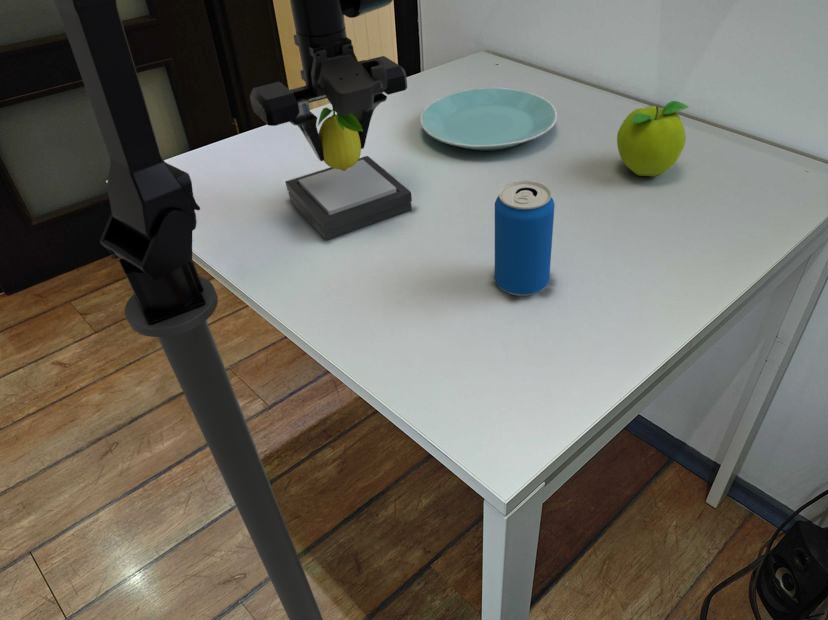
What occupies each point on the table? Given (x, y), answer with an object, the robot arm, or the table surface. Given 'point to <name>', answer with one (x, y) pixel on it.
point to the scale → (353, 216)
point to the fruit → (652, 139)
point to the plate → (488, 118)
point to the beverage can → (523, 237)
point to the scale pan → (346, 187)
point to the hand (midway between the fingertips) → (341, 153)
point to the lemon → (339, 139)
